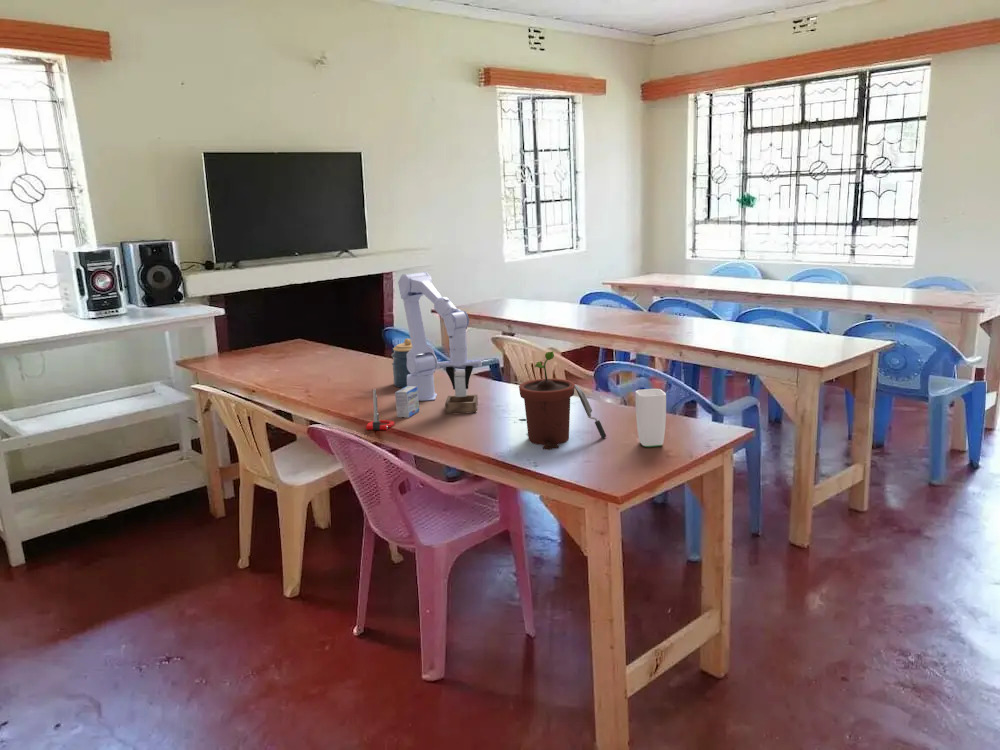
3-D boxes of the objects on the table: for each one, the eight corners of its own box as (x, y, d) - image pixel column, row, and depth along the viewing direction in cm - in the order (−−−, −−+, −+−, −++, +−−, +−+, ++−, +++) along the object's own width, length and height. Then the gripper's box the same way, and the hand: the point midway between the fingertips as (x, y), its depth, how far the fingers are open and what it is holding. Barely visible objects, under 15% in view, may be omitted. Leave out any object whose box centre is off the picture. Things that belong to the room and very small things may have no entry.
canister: (399, 390, 290) (395, 343, 286) (389, 383, 302) (385, 338, 298) (432, 385, 295) (429, 339, 291) (421, 378, 307) (418, 334, 303)
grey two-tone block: (455, 397, 257) (454, 376, 255) (456, 393, 262) (455, 372, 260) (466, 396, 257) (464, 375, 255) (467, 392, 262) (465, 372, 260)
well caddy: (445, 414, 255) (445, 403, 255) (448, 405, 265) (447, 395, 264) (476, 412, 255) (475, 402, 254) (478, 404, 265) (477, 394, 264)
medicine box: (409, 418, 253) (406, 392, 251) (396, 417, 254) (394, 391, 252) (419, 411, 260) (417, 386, 258) (407, 410, 262) (405, 385, 260)
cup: (667, 447, 212) (667, 394, 209) (641, 449, 212) (640, 396, 208) (660, 439, 219) (660, 388, 216) (634, 441, 219) (634, 389, 215)
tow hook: (372, 423, 251) (363, 430, 242) (369, 383, 249) (360, 389, 240) (397, 423, 250) (389, 430, 241) (395, 383, 247) (386, 389, 238)
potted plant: (546, 426, 237) (543, 345, 231) (607, 437, 223) (605, 351, 218) (509, 442, 224) (505, 356, 218) (572, 455, 210) (569, 364, 204)
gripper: (434, 351, 252) (437, 392, 255) (479, 349, 251) (482, 390, 254) (437, 347, 259) (439, 387, 262) (480, 345, 258) (483, 385, 261)
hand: (460, 388), depth 258 cm, fingers closed on grey two-tone block, 3 cm apart
